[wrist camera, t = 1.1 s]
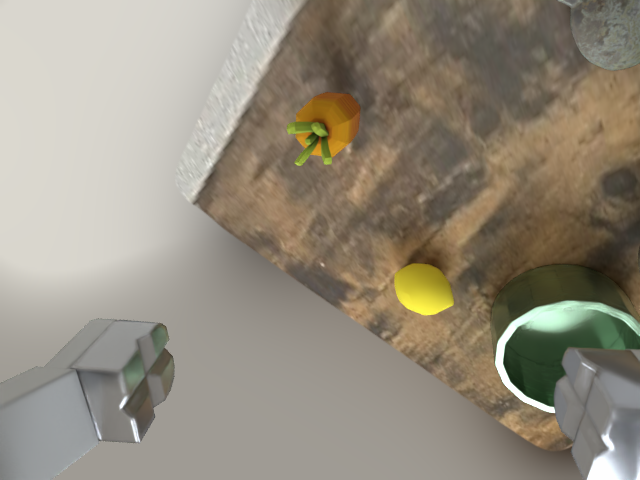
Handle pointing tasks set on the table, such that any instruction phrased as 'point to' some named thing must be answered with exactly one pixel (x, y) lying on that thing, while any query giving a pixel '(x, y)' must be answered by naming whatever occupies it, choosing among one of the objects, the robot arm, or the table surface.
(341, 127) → the carrot
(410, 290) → the lemon
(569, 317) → the pot
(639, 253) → the decorative egg
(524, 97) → the table surface
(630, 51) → the soupspoon
